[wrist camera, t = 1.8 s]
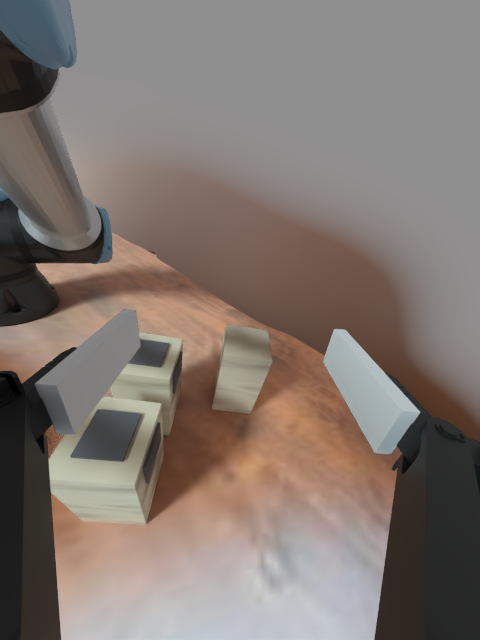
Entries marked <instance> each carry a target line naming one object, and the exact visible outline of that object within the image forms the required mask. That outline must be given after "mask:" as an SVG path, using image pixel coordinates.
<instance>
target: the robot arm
mask: <svg viewBox="0 0 480 640" xmlns="http://www.w3.org/2000/svg"><path fill="white" fill-rule="evenodd" d="M76 56H77V50H76V38H75V31H74V25H73V20H72V15H71V9H70V3H69V0H0V326H7V325H15V324H20V323H24V322H28V321H31V320H34V319H37V318H39V317H42V316H44V315H46V314H48V313H49V312H51V311H52V310H53V309H54V308H55V307H56V306H57V305H58V303H59V297H58V295H57V292H56V290H55V288H54V287H53V286H52V285H51V284H49V282H48V281H47V280H46V278H45V277H44V276H43V275H42V274H41V273H40V272H39V270H38V269H37V267H36V264H35V263H92V264H98V263H106V262H109V261H110V260H111V259H112V234H111V227H110V221H109V216H108V213H107V211H106V210H105V209H104V208H102V207H98V206H96V205H93V204H92V203H91V201H89V200H88V199H87V198H86V197H85V196H84V195H83V193H82V190H81V188H80V185H79V182H78V179H77V176H76V173H75V170H74V168H73V165H72V162H71V159H70V156H69V153H68V150H67V147H66V144H65V141H64V138H63V135H62V133H61V130H60V127H59V124H58V121H57V119H56V115H55V112H54V109H53V107H52V104H51V101H50V97H51V96H52V94H53V92H54V91H55V89H56V86H57V84H58V79H59V68H60V67H65V68H70V67H72V66H73V65H74V64H75V62H76ZM140 346H141V345H140V337H139V329H138V321H137V313H136V310H125V309H124V310H123V311H121V312H120V313H119V314H118V315H117V316H115V317H114V318H113V319H112V320H111V321H109V322H108V323H107V324H106V325H105V326H103V327H102V328H101V329H100V330H99V331H97V332H96V333H95V334H94V335H93V336H91V337H90V338H89V339H88V340H87V341H85V342H84V343H83V344H82V345H81V346H79V347H78V348H76V347H73V348H71V349H69V350H66V351H64V352H62V353H61V354H59V355H58V356H57V357H56V358H54V359H53V361H50V362H49V363H48V364H47V365H45V367H43V368H42V369H40V370H39V371H38V372H36V373H35V374H34V375H33V376H31V377H30V378H29V379H28V380H26V381H25V382H24V383H22V384H21V382H20V380H19V378H18V376H17V374H16V373H15V372H12V371H0V640H61V633H60V619H59V605H58V590H57V576H56V561H55V547H54V532H53V518H52V503H51V489H50V475H49V460H48V446H47V437H46V435H45V431H46V430H47V429H48V428H49V427H50V426H51V425H53V427H54V430H55V432H56V433H58V434H74V435H75V434H76V433H77V431H78V430H79V429H80V427H81V426H82V425H83V423H84V422H85V421H86V419H87V418H88V416H89V415H90V414H91V412H92V411H93V410H94V408H95V407H96V406H97V404H98V403H99V402H100V400H101V399H102V398H103V396H104V395H105V394H106V392H107V391H108V390H109V388H110V387H111V385H112V384H113V383H114V381H115V380H116V379H117V377H118V376H119V375H120V373H121V372H122V371H123V369H124V368H125V367H126V365H127V364H128V363H129V361H130V360H131V359H132V357H133V356H134V354H135V353H136V352H137V350H138V349H139V348H140ZM323 363H324V364H325V366H326V368H327V370H328V372H329V373H330V375H331V377H332V379H333V380H334V382H335V384H336V386H337V387H338V389H339V391H340V393H341V395H342V396H343V398H344V400H345V402H346V403H347V405H348V407H349V409H350V410H351V412H352V414H353V416H354V417H355V419H356V421H357V423H358V425H359V426H360V428H361V430H362V432H363V433H364V435H365V437H366V439H367V440H368V442H369V444H370V446H371V448H372V449H373V451H374V453H379V454H391V453H392V452H393V451H394V449H395V448H396V446H398V448H399V449H400V451H401V452H402V455H401V456H400V457H399V459H398V460H397V461H396V463H395V464H394V466H393V467H392V470H394V471H395V469H396V468H398V470H397V477H396V485H395V492H394V499H393V507H392V514H391V522H390V529H389V536H388V544H387V551H386V559H385V566H384V573H383V581H382V588H381V596H380V603H379V611H378V618H377V625H376V633H375V640H480V442H479V441H476V440H473V439H469V438H467V437H466V436H465V435H464V434H463V433H462V432H461V431H460V430H459V429H458V428H456V427H455V426H454V425H452V424H450V423H448V422H447V421H444V420H441V419H439V418H433V417H432V416H431V415H430V414H429V413H428V412H427V411H426V410H425V409H424V408H423V407H422V406H421V404H420V403H419V402H418V401H417V400H416V399H415V398H414V397H413V396H412V395H410V393H409V392H408V391H407V390H406V389H404V387H403V385H402V384H400V382H399V381H398V380H397V379H395V378H394V377H393V376H391V375H390V374H388V373H385V372H383V371H382V370H381V369H380V367H379V366H378V365H377V364H376V363H375V362H374V361H373V360H372V359H371V358H370V356H369V355H368V354H367V353H366V352H365V351H364V350H363V349H362V348H361V347H360V345H359V344H358V343H357V342H356V341H355V340H354V339H353V338H352V337H351V336H350V335H349V333H348V332H347V331H346V330H341V329H334V331H333V334H332V337H331V340H330V343H329V345H328V348H327V351H326V354H325V357H324V360H323Z"/></svg>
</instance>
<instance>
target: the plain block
mask: <svg viewBox="0 0 480 640" xmlns="http://www.w3.org/2000/svg"><path fill="white" fill-rule="evenodd" d="M271 365H272V355H271V349H270V342H269V336H268V331H267V330H261V329H255V328H249V327H242V326H236V325H230V324H226V329H225V334H224V339H223V344H222V349H221V354H220V359H219V363H218V368H217V373H216V379H215V387H214V396H213V404H212V410H220V411H229V412H238V413H247V414H251V411H252V409H253V407H254V404H255V402H256V400H257V397H258V395H259V393H260V390H261V388H262V386H263V383H264V381H265V379H266V376H267V374H268V372H269V369H270V367H271Z"/></svg>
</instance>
